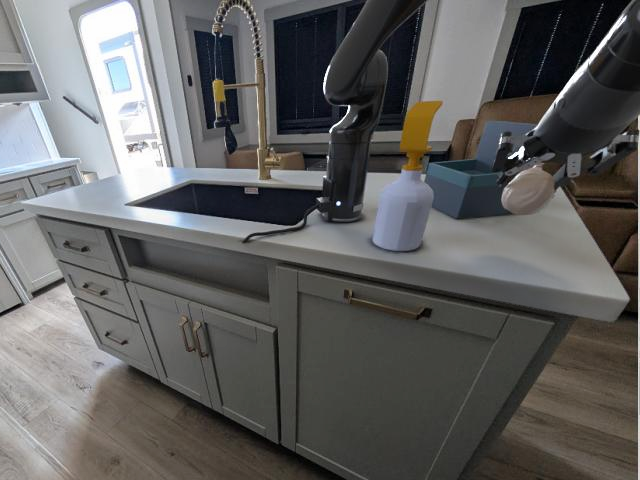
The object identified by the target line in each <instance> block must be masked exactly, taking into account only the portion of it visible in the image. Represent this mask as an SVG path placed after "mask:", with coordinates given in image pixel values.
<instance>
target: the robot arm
mask: <svg viewBox="0 0 640 480" xmlns="http://www.w3.org/2000/svg"><path fill="white" fill-rule="evenodd" d="M428 1H429V0H366V1H365V4H364V5H363V7H362V9H361V11H360V12H359V14H358V15H357V17H356V19H355V21H354V22H353V23H352V26H351V27H350V29H349V30H348V33H347V34H346V36H345V37H344V39H343V40H342V42H341V44H340V46H339V47H338V48H337V50H336V51H335V54H334V55H333V57H332V59H331V60H330V63H329V65H328V67H327V70H326V73H325V76H324V82H323V94H324V97H325V101H326V102H327V103H328V104H330V105H331V106H334V107H348V109H347V112H346V115H345V116H344V117H343V118H342V119H341V120H340V121H339V122H338V123H336V124H334V125H333V126H332V127H331V128H330V130H329V135H328V149H327V160H326V174H325V175H323V177H322V188H321V190H322V191H321V197H316V200H315V205H314V206H311V207H310V208H309V209H307V210H306V211H305V213H304V215H303V222H302V224H301V225H299V226H295V227H287V228H283V229H282V228H281V229H276V230H268V231H258V232H252V233H250V234H248V235H247V236H245V238H244V239H243V241H242V243H241V244H246V243H247V242H248V241H249V240H250V239H252V238H254V237H264V236H270V235H276V234H284V233H289V232H296V231H299V230H303V228H305V227H306V225H307V224H308V217H309V215H310V214H311V212H314V211H316V210H317V211H318V212H319V213H320V215H321V217H322V218H323V219H324V220H325V221H326V222H328V223H329V222H334V223H352V222H356V221H358V220H360V219H361V218H362V215H363V210H364V199H365V191H366V184H367V179H368V177H367V176H368V171H369V165H370V157H371V151H372V144H373V139H374V133H375V131H376V129H377V127H378V125H379V122H380V118H381V114H382V109H383V104H384V98H385V94H386V88H387V84H388V76H389V64H388V59H387V56H386V54H385V52H384V51H382V50H381V49H380V48H381V47H382V46H383V44H384V43H385V42H386V41H387V39H388V38H389V37H390V36H391V35H392V34H393V33H394V32H395V31H396V30H398V28H399V27H400V26H401V25H402V24H404V23H405V22H406V21H407V20H408V19H409V18H410V17H412V16H413V15H414V14H415V13H416V12H417V11H418V10H419V9H421V7H423V6H424V5H425V4H426V3H427V2H428ZM639 117H640V0H631V1H630V2H629V3H628V5H627V6H626V7H625V8H624V10H622V12H621V14H620V15H619V16H618V17H617V19H616V20H615V21H614V22H613V24H612V25H611V26H610V28H609V30H608V31H607V32H606V33H605V35H604V36H603V38H602V39H601V40H600V42H598V44H597V46H596V47H595V49H594V50H593V51H592V53H591V54H589V56H588V57H587V58H586V59H585V60H584V61H583V63H582V64H580V66H579V67H578V68H577V70H575V72H574V73H573V74H572V76H571V77H570V79H569V80H568V81H567V83H566V84H565V86H564V87H563V88H562V89H561V91H560V92H559V94H558V95H557V97H556V98H555V100H554V101H553V102H552V104H551V105H550V107H549V108H548V109H547V111H546V112H545V114H544V115H543V116H542V117H541V119H540V121H539V122H538V126H537V127H536V128H534V129H533V130H531V131H530V132H528V133H527V134H526V135H523V136H513V137H512V132H504V133H502V134H501V136H500V140H499V143H498V146H497V150H496V153H495V156H494V164H493V168H492V172H493V173H499V172H500V173H499V174H498V179H497V184H500V186H499V187H500V188H505V187H506V186H507V185H508V184H509V182H510V181H511V180H512V179H513V177H514V176H515V173H517V172H519V171H521V170H523V169H524V170H528V169H530V168H531V167H533V166H535V165H537V164H539V163H545V164H546V163H554V164H562V166H561V167H560V168H559V169H558V170H557V171H556V172H555V173H554V174H553V175H552V177H553V178H554V181H555V184H554V189H556V191H557V190H558V189H559V188H563V187H564V186H566V185H567V184H568V183H570V182H571V181H572V180H573V179H575V178H577V177H579V176H580V175H581V174H587V175H588V176H597V175H599V174H601V173H603V172H604V171H606V170H607V169H609V168H612V166H614V165H615V164H617V163H619V162H620V161H622V160H623V159H625V158H627V157H628V156H630V155H632V154H633V153H634V152H637V150H638V147H639V139H640V129H636V128H635V129H633V128H632V129H629V130H627V131H625V132H624V133H622V132H623V131H624V130H625V129H627V127H628V126H630V125H631V124H632V123H633V122H634V121H636V119H637V118H639ZM621 133H622V134H621ZM520 146H522V147H521V149H520V150H519V152H517V153H516V154H514V155H512V156H511V157H509V158H507V155H511V154H512V151H514V150H516V148H518V147H520ZM593 153H594V154H593ZM591 154H592V155H591ZM588 155H591V156H589V158H583V157H586V156H588Z"/></svg>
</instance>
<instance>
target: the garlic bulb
mask: <svg viewBox="0 0 640 480" xmlns="http://www.w3.org/2000/svg"><path fill="white" fill-rule="evenodd" d="M545 164H546V163H539V164H537V165H535V166H534V167H533V168H530V169H528V170H524V171H522V172H521V173H519V174H518V175H517V176H516V177H515V178H514V179H513V180H512V181H511V182H510V183H509V184H508V185H507V186H506V187H505V188H504V190H503V193H502V198H501V201H502V205H503V207H504V208H505V209H507V210H509V211H510V212H512V213H513V214H512V215H516V216H531V215H534V214H537V213H540V212H541V211H542V210H544V209H545V208H546V207H547V206H548V205H549V204H550V202H552V199H553V198H555V196H556V195H555V193H556V192H557V190H556V189H554V184H555V181H554V178H553V175H551V173H548V172H547V171H545V170H543V166H544V165H545Z"/></svg>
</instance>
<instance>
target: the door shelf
mask: <svg viewBox="0 0 640 480" xmlns="http://www.w3.org/2000/svg"><path fill="white" fill-rule="evenodd" d="M538 124H539V123H538ZM538 124H537V123H528V122H527V123H525V122H516V121H515V122H514V121H505V120H486V121H485V125H484V128H483V131H482V134H481V137H480V140H479V144H478V147H477V150H476V153H475V156H474V158H470V159H469V158H468V159H458V160H447V161H437V162H436V161H435V162H428V165H427V168H426V171H425V177H424V180H423V182H425V183H426V184H428V185H429V186H430V188H431V189H432V190H433V195H434V199H433V202H432V206H431V208H434V209H436V210H438V211H440V212H442V213H444V214H446V215H448V216H450V217H452V218H454V219H456V220H462V219H472V218H481V217H492V216H503V215H514V214H513V213H512V212H510V211H509V210H507V209H505V208H504V207H503V205H502V201H501V198H502V193H503V190H504V188H500V187H499V186H500V184H497V179H498V174H499V173H500V172H499V173H493V172H492V168H493V164H494V156H495V153H496V150H497V146H498V143H499V140H500V136H501V134H502V133H504V132H512V137H513V136H523V135H526V134H527V133H528V132H530V131H531V130H533V129H534V128H536V127H537V126H538ZM521 147H522V146H520V147H518V148H516V150H514V151H512V154H511V155H507V158H509V157H511V156H512V155H514V154H516V153H517V152H519V150H520V149H521ZM533 167H534V166H533ZM533 167H531V168H533ZM522 171H524V169H523V170H521V171H519V172H517V173H515V176H514V177H513V179H514V178H515V177H516V176H517V175H518V174H519V173H521V172H522ZM513 179H512V180H513ZM512 180H511V181H512ZM511 181H510V182H511ZM510 182H509V183H510Z"/></svg>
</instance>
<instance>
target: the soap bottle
mask: <svg viewBox="0 0 640 480" xmlns="http://www.w3.org/2000/svg"><path fill="white" fill-rule="evenodd" d="M442 106H443V100H425V101H423V100H422V101H417V102H415V103H414V104H413V105H412V106H411V108H410V109H408V110H407V113H406V114H405V118H404V122H403V127H402V132H401V137H400V143H399V152H401V153H406V157H407V158H408V162H407V164H402V167H401V172H400V176H399V178H398V179H397V180H394V181H392V182H390V183H388V184H387V185H386V186H385V187H383V188H382V190H381V192H380V195H379V200H378V207H377V212H376V218H375V223H374V229H373V234H372V242H373V244H374V245H376V246H377V247H379V248H381V249H383V250H387V251H393V252H408V251H414V250H416V249H418V248H419V247H420V246H421V245H422V242H423V239H424V235H425V232H426V227H427V224H428V220H429V217H430V213H431V210H432V202H433V199H434V195H433V190H432V189H431V188H430V186H429V185H428V184H426V183H425V182H424V180H422V173H423V168H424V165H423V164H420V159H421V158H423V157H425V154H426V153H428V152H430V151H432V150H433V146H430V145H427V144H428V141H429V135H430V132H431V128H432V124H433V120H434V117H435V115H436V113H437V112H438V111H439V109H440V108H441V107H442Z"/></svg>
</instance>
